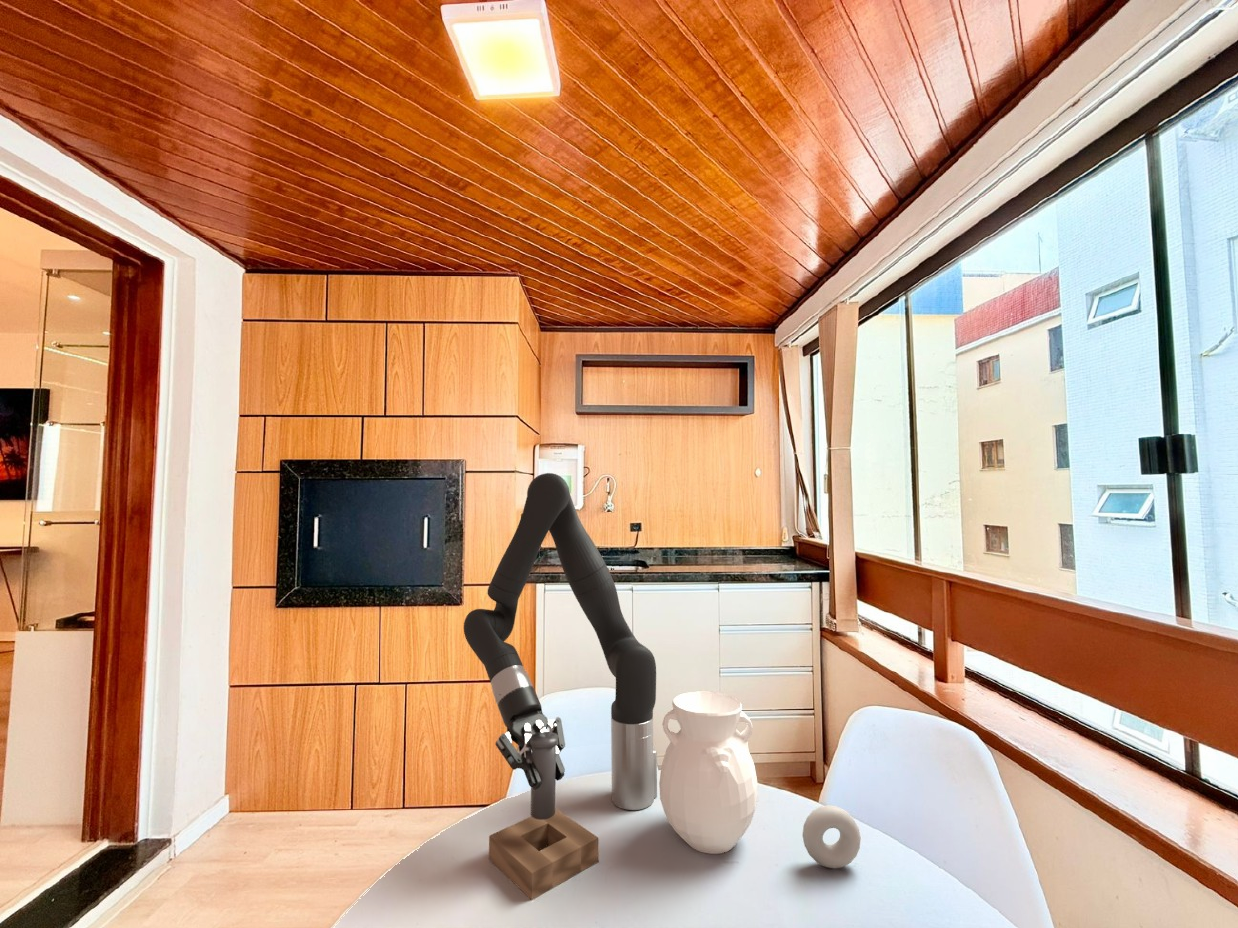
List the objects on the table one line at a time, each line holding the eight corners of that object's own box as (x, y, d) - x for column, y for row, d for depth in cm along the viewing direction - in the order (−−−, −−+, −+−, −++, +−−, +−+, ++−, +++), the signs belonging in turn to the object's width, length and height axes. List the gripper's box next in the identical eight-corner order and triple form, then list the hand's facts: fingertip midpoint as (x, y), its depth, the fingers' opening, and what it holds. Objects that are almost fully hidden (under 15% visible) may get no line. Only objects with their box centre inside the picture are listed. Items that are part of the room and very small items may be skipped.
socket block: (552, 828, 104) (553, 806, 105) (598, 861, 94) (598, 837, 95) (488, 859, 95) (489, 835, 95) (531, 899, 85) (532, 872, 85)
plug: (546, 802, 99) (547, 729, 100) (562, 813, 95) (563, 737, 97) (523, 811, 95) (525, 736, 97) (538, 823, 92) (540, 745, 93)
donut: (807, 873, 90) (805, 811, 92) (800, 860, 94) (798, 801, 95) (866, 873, 91) (862, 811, 92) (856, 860, 94) (853, 800, 95)
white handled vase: (751, 813, 109) (747, 687, 112) (767, 872, 91) (762, 720, 93) (661, 809, 111) (659, 685, 114) (659, 866, 93) (656, 717, 95)
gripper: (490, 692, 98) (523, 785, 88) (553, 677, 108) (590, 759, 98) (475, 714, 102) (506, 806, 91) (537, 698, 111) (572, 779, 101)
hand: (549, 781), depth 95 cm, fingers closed on plug, 4 cm apart
